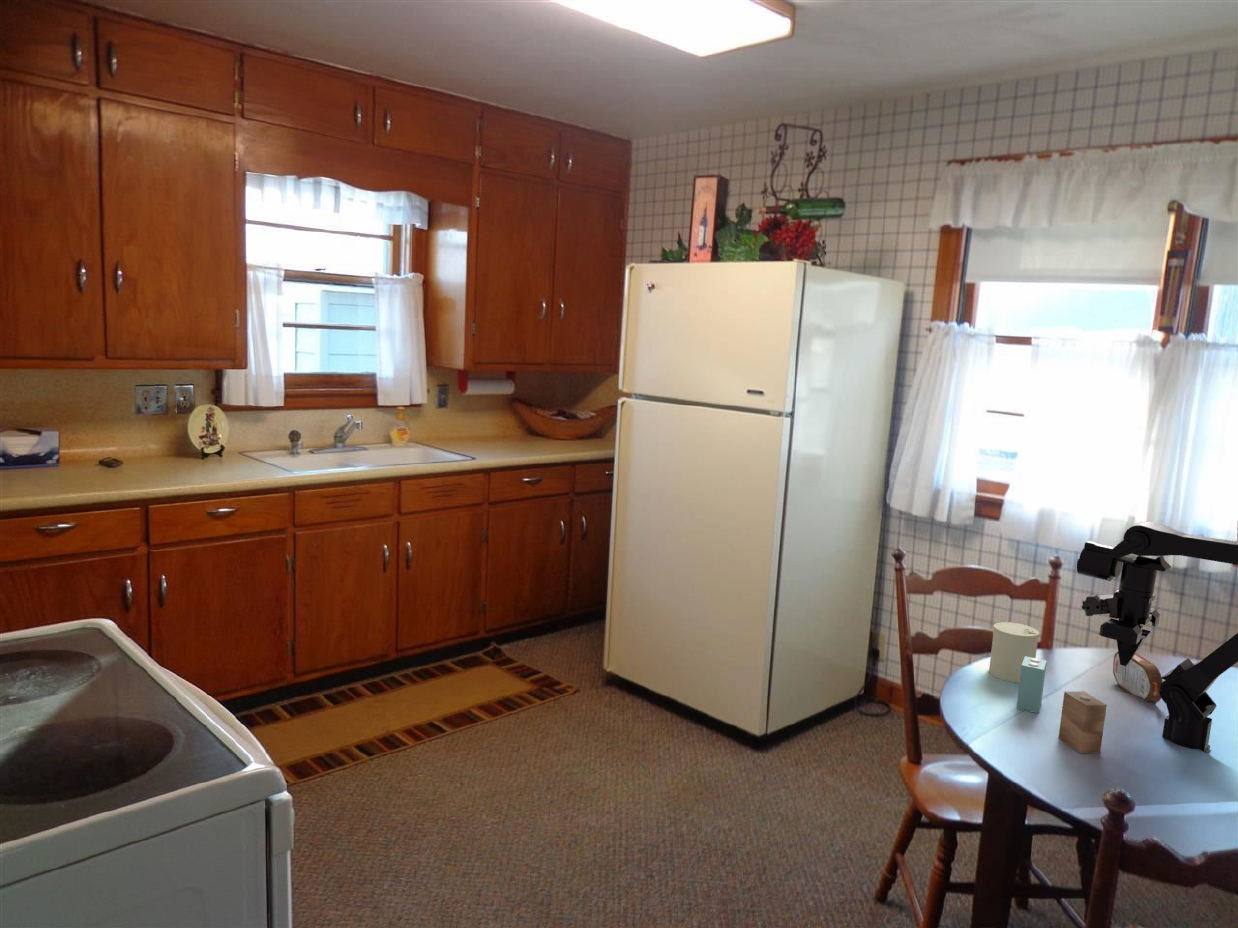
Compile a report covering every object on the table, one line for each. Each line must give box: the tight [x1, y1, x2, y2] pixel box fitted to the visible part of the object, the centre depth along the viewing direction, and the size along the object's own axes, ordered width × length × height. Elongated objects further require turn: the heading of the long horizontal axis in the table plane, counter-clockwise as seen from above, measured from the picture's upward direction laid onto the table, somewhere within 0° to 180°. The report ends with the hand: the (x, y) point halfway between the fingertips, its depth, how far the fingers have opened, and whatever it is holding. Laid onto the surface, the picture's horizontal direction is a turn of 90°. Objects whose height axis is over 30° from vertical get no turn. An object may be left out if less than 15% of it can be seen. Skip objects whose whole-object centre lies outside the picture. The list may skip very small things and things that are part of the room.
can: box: [988, 621, 1040, 683], centre depth 192 cm, size 9×9×12 cm
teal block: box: [1016, 656, 1048, 714], centre depth 176 cm, size 4×6×9 cm, turn 150°
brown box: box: [1058, 690, 1108, 754], centre depth 159 cm, size 4×6×9 cm, turn 8°
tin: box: [1112, 651, 1164, 704], centre depth 188 cm, size 15×3×8 cm, turn 179°
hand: (1123, 665), depth 171 cm, fingers closed
